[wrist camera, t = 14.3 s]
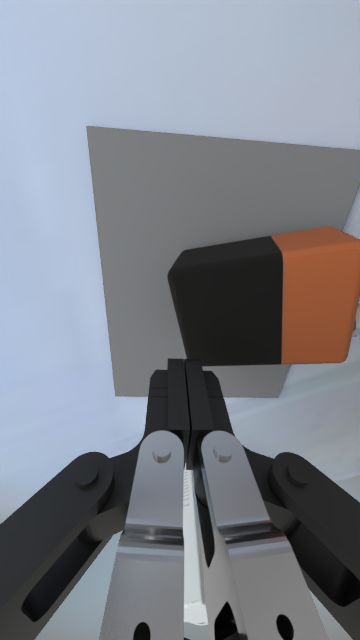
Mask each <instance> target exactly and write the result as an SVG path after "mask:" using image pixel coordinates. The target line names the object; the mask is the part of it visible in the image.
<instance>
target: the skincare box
mask: <svg viewBox="0 0 360 640" xmlns="http://www.w3.org/2000/svg"><path fill="white" fill-rule="evenodd" d="M193 487H194V475H193V470H186V463H185V470H184V484H183V536H184V622H190V623H193V624H196V625H205V624H208V619H207V612H206V604H205V594H204V569H203V561H202V554H201V547H200V540H199V533H198V526H197V519H196V513H195V506H194V499H193Z"/></svg>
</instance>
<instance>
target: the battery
mask: <svg viewBox="0 0 360 640" xmlns="http://www.w3.org/2000/svg"><path fill="white" fill-rule="evenodd" d="M167 278H168V283H169V288H170V292H171V296H172V300H173V304H174V308H175V312H176V316H177V320H178V324H179V328H180V332H181V337H182V341H183V345H184V349H185V353H186V357H187V359H200V360H201V363H202V367H204V366H243V365H281V364H320V363H341V362H344V361H345V360H346V358H347V356H348V352H349V347H350V342H351V337H352V336H357V335H358V334H359V333H360V305H359V304H358V302H359V297H360V240H359V239H357V238H355V237H353V236H351V235H349V234H347V233H345V232H342V231H340V230H338V229H336V228H334V227H331V226H326V227H320V228H314V229H308V230H302V231H296V232H290V233H284V234H278V235H272V236H266V237H260V238H254V239H248V240H242V241H236V242H230V243H224V244H218V245H212V246H206V247H200V248H194V249H188V250H184V251H182V252H181V253H180V255H179V256H178V258H177V259H176V261H175V262H174V264H173V265H172V267H171V268H170V270H169V272H168V275H167Z"/></svg>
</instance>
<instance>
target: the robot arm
mask: <svg viewBox="0 0 360 640" xmlns="http://www.w3.org/2000/svg"><path fill="white" fill-rule="evenodd" d="M185 463H186V470H193V475H194V487H193V499H194V506H195V513H196V519H197V526H198V533H199V540H200V547H201V554H202V561H203V569H204V594H205V604H206V612H207V619H208V626H209V633H210V640H329V639H328V636H327V634H326V631H325V629H324V626H323V624H322V621H321V619H320V616H319V614H318V611H317V609H316V606H315V604H314V602H313V599H312V596H311V594H310V591H311V592H312V593H313V594H314V595H315V596H316V597H317V598H318V600H319V601H320V602H321V603H322V604H323V605H324V607H325V608H326V609H327V610H328V611H329V612H330V613H331V615H333V617H334V618H335V619H336V620H337V622H338V623H339V624H340V625H341V626H342V627H343V628H344V630H345V631H346V632H347V633H348V634H349V635H350V637H351V638H352V639H353V640H360V503H359V502H358V501H357V500H356V499H354V498H353V497H352V496H351V495H349V494H348V493H347V492H346V491H344V490H343V489H342V488H341V487H339V486H338V485H337V484H336V483H334V482H333V481H332V480H331V479H329V478H328V477H327V476H326V475H324V474H323V473H322V472H321V471H319V470H318V469H317V468H316V467H314V466H313V465H312V464H311V463H309V462H308V461H307V460H305V459H304V458H303V457H301V456H299V455H297V454H294V453H289V452H284V453H280V454H278V455H277V456H276V457H275V459H273V458H270V457H267V456H264V455H261V454H258V453H255V452H252V451H250V450H249V449H247V448H245V447H244V446H243V445H242V444H241V443H240V441H239V440H238V439H237V438H236V437H235V435H234V433H233V430H232V427H231V423H230V419H229V416H228V412H227V408H226V405H225V401H224V399H223V394H222V391H221V386H220V382H219V379H218V378H217V377H216V375H215V374H214V373H213V372H212V371H203V368H202V363H201V360H200V359H175V358H168V361H167V370H155V371H154V373H153V374H152V376H151V377H150V384H149V394H148V405H147V415H146V425H145V432H144V436H143V438H142V440H141V441H140V443H139V444H138V445H137V446H136V447H135V448H133V449H132V450H130V451H129V452H126V453H124V454H121V455H118V456H115V457H112V458H108V457H107V456H106V455H105V454H103V453H100V452H89V453H85V454H83V455H81V456H79V457H77V458H76V459H75V460H73V461H72V462H71V463H70V464H69V465H67V466H66V467H65V468H64V469H63V470H62V471H61V472H60V473H58V474H57V475H56V476H55V477H54V478H53V479H52V480H50V481H49V482H48V483H47V484H46V485H45V486H44V487H42V488H41V489H40V490H39V491H38V492H37V493H36V494H34V495H33V496H32V497H31V498H30V499H29V500H28V501H27V502H25V503H24V504H23V505H22V506H21V507H20V508H19V509H17V510H16V511H15V512H14V513H13V514H12V515H11V516H9V517H8V518H7V519H6V520H5V521H4V522H3V523H1V524H0V640H34V639H35V638H36V637H37V635H38V634H39V633H40V632H41V630H42V629H43V628H44V626H45V625H46V624H47V622H48V621H49V619H50V618H51V617H52V616H53V614H54V613H55V612H56V610H57V609H58V608H59V606H60V605H61V604H62V602H63V601H64V599H65V598H66V597H67V596H68V594H69V593H70V592H71V590H72V589H73V588H74V586H75V585H76V584H77V582H78V581H79V580H80V579H81V577H82V576H83V575H84V573H85V572H86V570H87V569H88V568H89V567H90V565H91V564H92V562H93V561H94V560H95V559H96V557H97V556H98V554H99V553H100V552H101V551H102V549H103V548H104V547H105V545H106V543H108V541H109V540H110V539H111V537H112V536H113V535H114V534H116V533H118V532H120V531H122V530H123V532H122V534H121V536H120V540H119V543H118V548H117V552H116V557H115V562H114V567H113V572H112V577H111V582H110V587H109V592H108V597H107V602H106V607H105V612H104V617H103V622H102V627H101V632H100V637H99V640H189V639H187V638H184V536H183V484H184V470H185ZM308 588H309V589H310V591H309V589H308Z"/></svg>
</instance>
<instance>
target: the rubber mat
mask: <svg viewBox="0 0 360 640" xmlns="http://www.w3.org/2000/svg"><path fill="white" fill-rule="evenodd" d="M86 128H87V137H88V146H89V156H90V165H91V174H92V183H93V193H94V202H95V211H96V221H97V230H98V239H99V248H100V258H101V267H102V276H103V286H104V295H105V304H106V314H107V323H108V332H109V341H110V351H111V360H112V369H113V379H114V388H115V396H136V397H148V394H149V384H150V377H151V376H152V374H153V373H154V371H155V370H167V361H168V358H175V359H187V357H186V353H185V349H184V345H183V341H182V337H181V332H180V328H179V324H178V320H177V316H176V312H175V308H174V304H173V300H172V296H171V292H170V288H169V283H168V278H167V275H168V272H169V270H170V268H171V267H172V265H173V264H174V262H175V261H176V259H177V258H178V256H179V255H180V253H181V252H182V251H184V250H188V249H194V248H200V247H206V246H212V245H218V244H224V243H230V242H236V241H242V240H248V239H254V238H260V237H266V236H272V235H278V234H284V233H290V232H296V231H302V230H308V229H314V228H320V227H326V226H331V227H334V228H336V229H338V230H340V231H342V229H343V227H344V224H345V222H346V219H347V216H348V214H349V211H350V209H351V206H352V203H353V201H354V198H355V196H356V193H357V190H358V188H359V185H360V150H352V149H341V148H330V147H318V146H307V145H296V144H285V143H274V142H262V141H251V140H240V139H229V138H217V137H206V136H195V135H184V134H172V133H161V132H150V131H139V130H127V129H116V128H105V127H94V126H86ZM290 365H291V364H281V365H243V366H204V367H202V368H203V371H212V372H213V373H214V374H215V375H216V377H217V378H218V379H219V382H220V386H221V391H222V394H223V397H252V398H278V396H279V394H280V391H281V388H282V386H283V383H284V381H285V378H286V375H287V373H288V370H289V368H290Z"/></svg>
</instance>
